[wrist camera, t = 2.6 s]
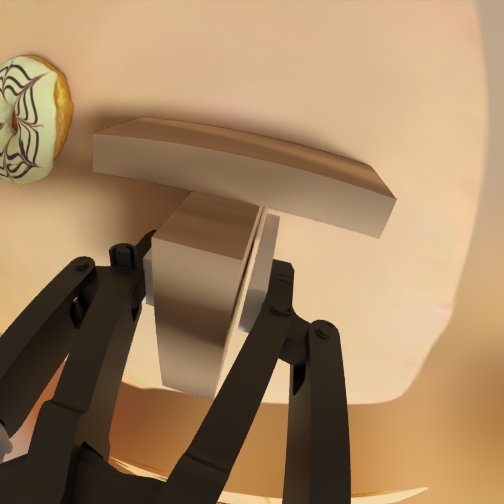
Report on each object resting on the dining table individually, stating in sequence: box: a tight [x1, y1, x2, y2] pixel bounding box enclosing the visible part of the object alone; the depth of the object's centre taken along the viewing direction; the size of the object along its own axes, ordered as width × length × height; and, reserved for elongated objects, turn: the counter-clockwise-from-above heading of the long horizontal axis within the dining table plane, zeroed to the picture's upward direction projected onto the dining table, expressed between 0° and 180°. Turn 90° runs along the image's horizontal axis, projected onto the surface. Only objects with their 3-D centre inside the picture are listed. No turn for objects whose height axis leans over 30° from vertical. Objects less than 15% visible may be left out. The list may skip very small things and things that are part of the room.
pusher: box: [92, 117, 397, 400], centre depth 15 cm, size 12×14×9 cm
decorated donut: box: [0, 55, 73, 185], centre depth 14 cm, size 10×11×4 cm
